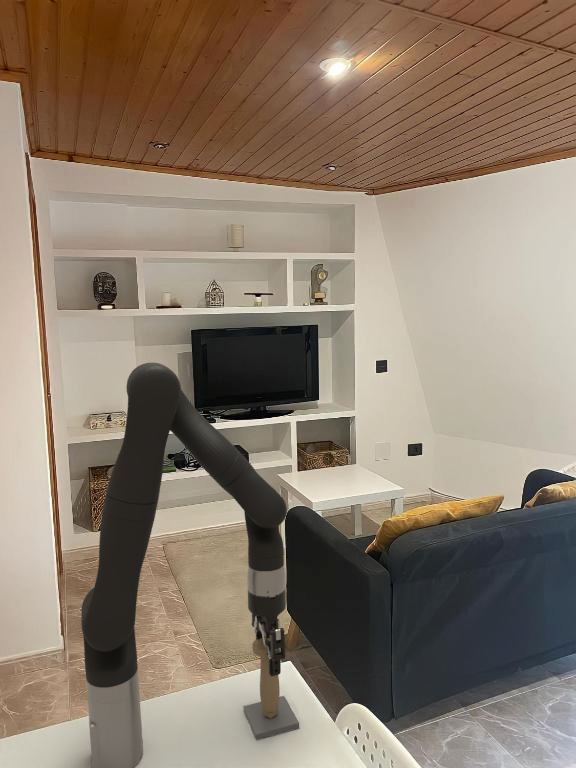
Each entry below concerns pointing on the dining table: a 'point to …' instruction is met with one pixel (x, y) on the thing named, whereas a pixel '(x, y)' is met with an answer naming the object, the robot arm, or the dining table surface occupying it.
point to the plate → (270, 719)
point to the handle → (267, 681)
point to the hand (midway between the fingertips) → (268, 662)
